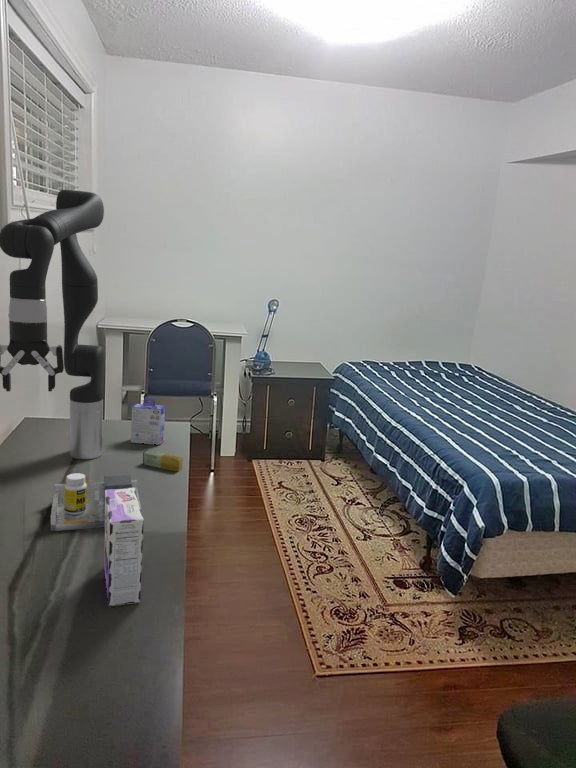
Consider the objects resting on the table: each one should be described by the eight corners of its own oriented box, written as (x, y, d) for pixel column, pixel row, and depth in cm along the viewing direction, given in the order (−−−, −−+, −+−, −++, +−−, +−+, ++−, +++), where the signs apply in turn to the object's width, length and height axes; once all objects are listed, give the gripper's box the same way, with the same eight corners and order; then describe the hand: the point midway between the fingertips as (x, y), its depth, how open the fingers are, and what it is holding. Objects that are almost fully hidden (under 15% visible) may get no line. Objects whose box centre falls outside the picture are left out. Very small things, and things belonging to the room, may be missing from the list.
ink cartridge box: (164, 440, 182) (166, 398, 179) (160, 445, 177) (162, 402, 174) (135, 437, 182) (136, 396, 179) (130, 443, 177) (131, 400, 174)
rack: (54, 503, 131) (54, 470, 129) (136, 498, 137) (137, 466, 136) (50, 531, 118) (50, 494, 116) (141, 524, 125) (142, 489, 123)
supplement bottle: (77, 516, 122) (78, 481, 120) (59, 512, 123) (59, 477, 122) (90, 508, 127) (91, 474, 125) (73, 504, 128) (73, 471, 126)
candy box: (103, 566, 107) (104, 488, 103) (134, 562, 109) (136, 486, 105) (107, 608, 94) (108, 521, 91) (142, 603, 96) (144, 518, 93)
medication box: (141, 465, 160) (142, 452, 159) (146, 461, 163) (147, 449, 162) (178, 472, 157) (178, 459, 156) (183, 469, 159) (183, 456, 158)
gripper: (64, 318, 125) (64, 387, 129) (-6, 315, 120) (-4, 386, 124) (62, 322, 118) (62, 394, 122) (-12, 319, 113) (-9, 394, 117)
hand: (29, 390), depth 123 cm, fingers open, 8 cm apart
